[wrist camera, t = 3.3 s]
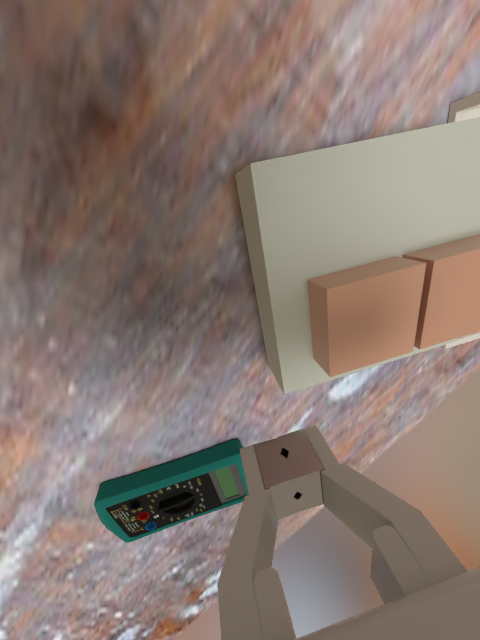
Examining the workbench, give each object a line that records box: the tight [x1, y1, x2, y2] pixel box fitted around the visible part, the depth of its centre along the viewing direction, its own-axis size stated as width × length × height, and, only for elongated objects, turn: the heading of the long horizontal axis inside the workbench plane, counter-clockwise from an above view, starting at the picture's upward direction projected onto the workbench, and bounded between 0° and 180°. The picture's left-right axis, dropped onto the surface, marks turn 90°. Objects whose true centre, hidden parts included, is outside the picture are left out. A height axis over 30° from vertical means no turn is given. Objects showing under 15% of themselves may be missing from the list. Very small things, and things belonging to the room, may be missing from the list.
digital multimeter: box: [94, 439, 249, 542], centre depth 25 cm, size 7×15×3 cm, turn 102°
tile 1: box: [402, 234, 480, 349], centre depth 16 cm, size 6×6×2 cm
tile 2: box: [308, 256, 426, 377], centre depth 15 cm, size 6×6×2 cm
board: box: [235, 117, 480, 394], centre depth 17 cm, size 15×15×4 cm
